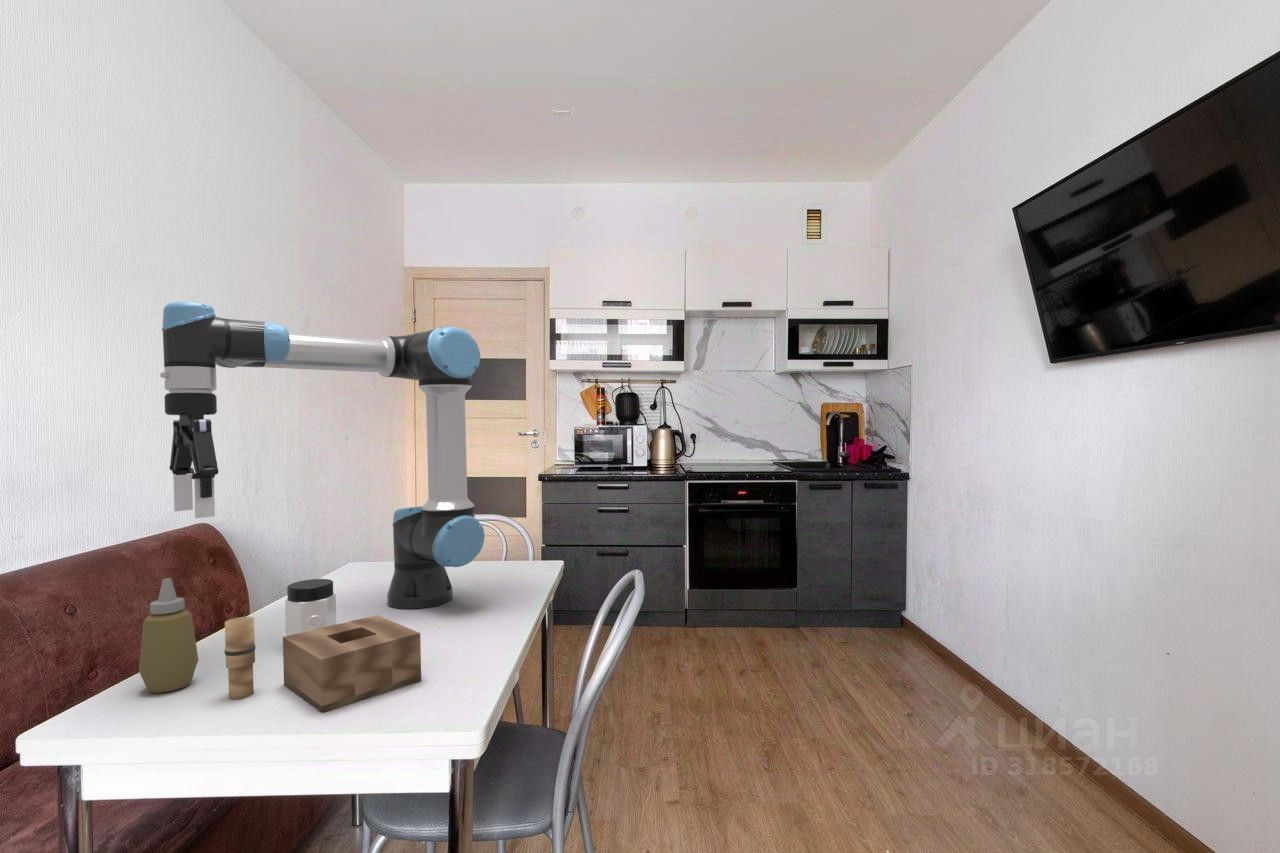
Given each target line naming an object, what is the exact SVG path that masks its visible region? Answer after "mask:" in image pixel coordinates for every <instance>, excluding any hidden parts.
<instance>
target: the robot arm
mask: <svg viewBox="0 0 1280 853" xmlns="http://www.w3.org/2000/svg"><path fill="white" fill-rule="evenodd" d="M162 313H163V315H162V328H161V332H162V342H163V344H162V345H163V347H162V348H163V368H164V369H163V370H164V372H163V371H162V372H161V373H159V375H160V377H161V378H162V379H164V390H166V391H168V393H166V394H164V413H165V414H166V415H167V416H179V419H178V420H173V422H172V427H173V430H172V431H173V435H172V441H171V442H172V444H171V454H170V462H169V470H170V471H171V473H172V475H173V476H172V477H173V508H174V509H173V510H174V511H173V512H184V511H185V512H186V511H193V510H194V519H202V518H212V517H216V509H215V508H216V506H215V503H216V501H215V500H216V499H215V478H216V477H215V476H216V475H218V474H219V472H220V470H219V468H218V462H217V456H216V449H215V446H214V445H215V443H214V438H213V433H212V432H213V431H212V420H211V419H210V418H209V419H206V418H205V417H204V416H207V415H208V416H211V415H216V414H217V412H218V410H217V409H218V407H217V406H218V403H217V395H216V393H213V392H214V391H216V390H217V389H218V388H217V368H216V366H218V367H221V368H227V369H235V368H237V367H238V368H243V367H244V368H266V369H267V368H269V369H270V368H273V369H289V370H291V369H293V370H317V371H337V372H338V371H342V372H344V371H345V372H362V373H363V372H364V373H365V372H366V373H378V374H379V375H380V376H381V377H383V378H396V379H404V380H405V379H406V380H411V381H413V380H414V381H418V388H419V389H420V390H421V391H422V392H423V393H424V394H425V409H426V410H425V411H426V412H425V413H426V416H425V417H426V418H425V419H426V449H427V450H426V451H427V452H426V453H427V455H426V456H427V485H428V486H427V490H428V491H427V494H428V500H427V501H426V502H425V504H423V505H421V506H413V507H405V508H404V507H403V508H398V509H396V510H395V511H394V512H393V520H392V529H393V530H392V531H393V532H392V533H393V535H392V536H393V560H394V562H393V564H394V567H393V568H394V570H393V575H392V579H391V582H390V585H389V587H388V591H387V595H386V597H387V598H386V600H387V602H386V603H387V606H389V607H390V608H391V607H392V608H394V609H408V610H410V609H422V608H430V607H434V606H438V605H442V604H445V603H447V602H450V601H451V600H452V599H453V598H454V597H453V596H454V592H453V590H454V589H453V585H452V583H451V580H450V577H449V575H448V572H447V569H446V568H450V567H453V568H460V567H464V566H466V565H469V564H470V563H472V562H473V561H474V560H475V559H476V557H477V556H478V555H480V552H481V551H482V548H483V546H484V544H485V529H484V526H483V525H482V523H480V521H479V520H478V519H477V518H476V517H475V504H474V503H473V501H471V500H470V499H469V497H468V475H467V474H468V469H467V468H468V466H467V431H466V428H467V426H466V425H467V424H466V394H467V392H468V391H469V390H471V388H472V376H473V374H474V373H475V372H476V371H477V369H478V368H479V367H480V363H481V352H480V348H479V345H478V342H477V341H476V339H475V338H474V337H473V336H472V335H471V334H470V333H469V332H468V331H466V330H464V329H463V328H460V327H456V326H446V327H445V326H444V327H443V326H440V327H437V328H434V329H431V330H427V331H426V330H425V331H422V332H421V331H420V332H416V333H412V334H407V335H398V336H397V335H396V336H395V335H393V336H392V335H391V336H390V335H383V336H380V338H379V339H376V338H375V339H373V338H360V337H349V336H348V337H347V336H334V335H323V334H322V335H321V334H320V335H319V334H307V333H298V332H297V333H295V332H292V333H291V332H289V330H288V327H287V326H285V325H284V324H282V323H278V322H270V321H268V320H265V321H260V320H259V321H258V320H246V319H234V318H233V319H232V318H231V319H230V318H224V317H223V318H222V317H219V316H217V314H216V313H215V308H214V307H213V306H212V305H209V304H206V303H201V302H200V303H199V302H194V301H193V302H191V301H174V302H170V303H168V304H166V305H164V308H163V312H162ZM192 466H193V467H192ZM193 490H194V492H193ZM193 493H194V497H193ZM193 498H194V499H193ZM193 500H194V501H193ZM193 503H194V504H193Z"/></svg>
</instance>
